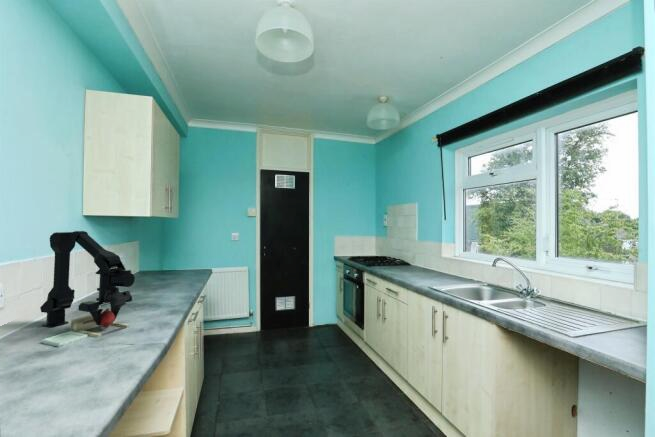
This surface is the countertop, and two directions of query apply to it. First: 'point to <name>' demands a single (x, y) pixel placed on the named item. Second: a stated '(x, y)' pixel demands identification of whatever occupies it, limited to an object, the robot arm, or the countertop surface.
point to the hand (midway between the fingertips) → (106, 322)
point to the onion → (107, 318)
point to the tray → (64, 338)
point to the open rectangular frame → (91, 326)
